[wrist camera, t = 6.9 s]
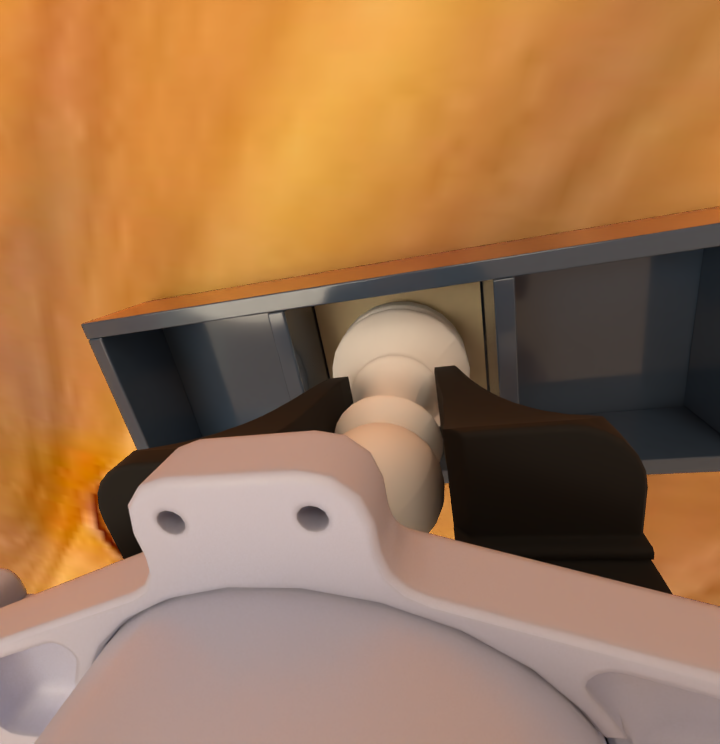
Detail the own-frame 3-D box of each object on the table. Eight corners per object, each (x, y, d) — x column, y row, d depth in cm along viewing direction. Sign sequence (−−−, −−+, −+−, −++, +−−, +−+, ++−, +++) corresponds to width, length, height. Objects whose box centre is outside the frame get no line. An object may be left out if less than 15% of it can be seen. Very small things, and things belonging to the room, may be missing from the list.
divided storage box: (691, 413, 16) (764, 470, 12) (202, 448, 20) (157, 496, 17) (721, 205, 13) (824, 206, 10) (146, 301, 18) (79, 324, 14)
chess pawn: (392, 437, 17) (359, 648, 9) (315, 350, 16) (199, 500, 8) (492, 373, 15) (565, 566, 7) (413, 271, 14) (391, 360, 6)
